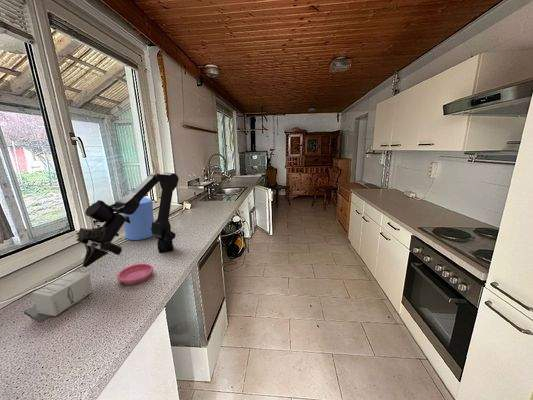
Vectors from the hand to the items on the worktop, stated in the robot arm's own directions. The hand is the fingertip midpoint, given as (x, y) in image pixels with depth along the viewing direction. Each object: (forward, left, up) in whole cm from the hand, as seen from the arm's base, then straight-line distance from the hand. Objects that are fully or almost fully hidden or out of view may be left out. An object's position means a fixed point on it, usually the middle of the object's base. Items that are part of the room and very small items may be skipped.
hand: (84, 266), depth 80 cm
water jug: (-10, -50, -9) cm, 52 cm away
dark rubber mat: (+7, +7, -9) cm, 13 cm away
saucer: (-15, -2, -9) cm, 18 cm away
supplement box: (0, +1, -5) cm, 5 cm away
